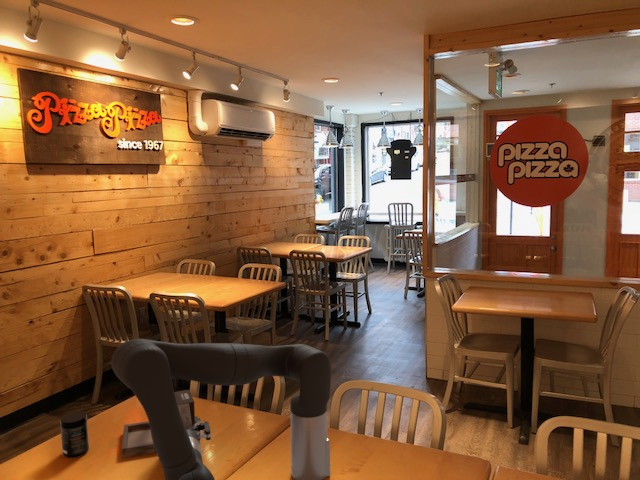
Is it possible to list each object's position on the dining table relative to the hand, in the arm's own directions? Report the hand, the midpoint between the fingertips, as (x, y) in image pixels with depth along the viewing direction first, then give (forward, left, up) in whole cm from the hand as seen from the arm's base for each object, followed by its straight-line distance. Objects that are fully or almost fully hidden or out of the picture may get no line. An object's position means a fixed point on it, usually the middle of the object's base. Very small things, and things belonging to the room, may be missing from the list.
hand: (181, 421), depth 144 cm
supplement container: (+28, -9, -9) cm, 31 cm away
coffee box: (0, +1, -9) cm, 9 cm away
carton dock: (+10, -9, -9) cm, 16 cm away
